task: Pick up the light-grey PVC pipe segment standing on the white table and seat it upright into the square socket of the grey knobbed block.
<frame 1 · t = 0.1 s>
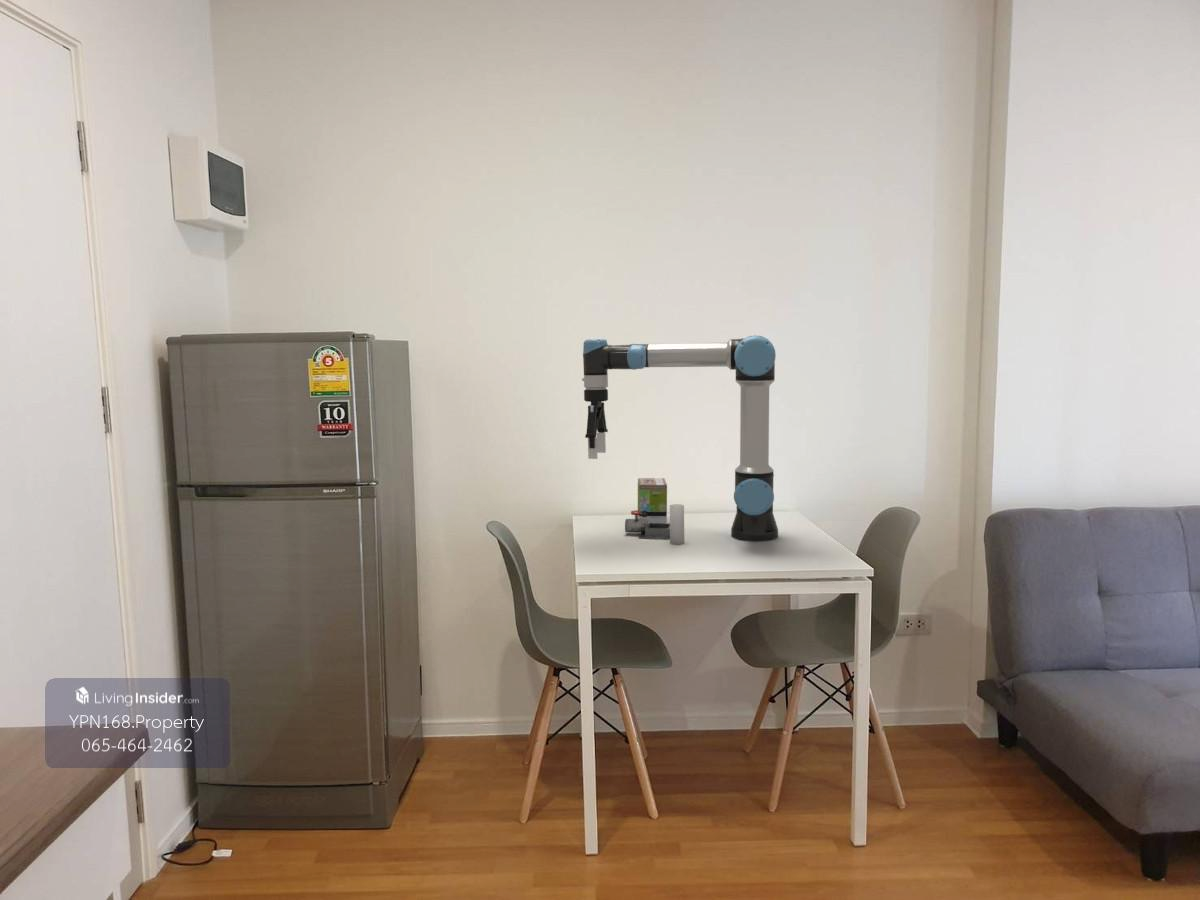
hand: (597, 455, 271), 28 cm above the table, fingers open, 13 cm apart
grey knobbed block: (659, 534, 282), on the table
tea box: (652, 522, 303), on the table
pipe: (677, 542, 271), on the table
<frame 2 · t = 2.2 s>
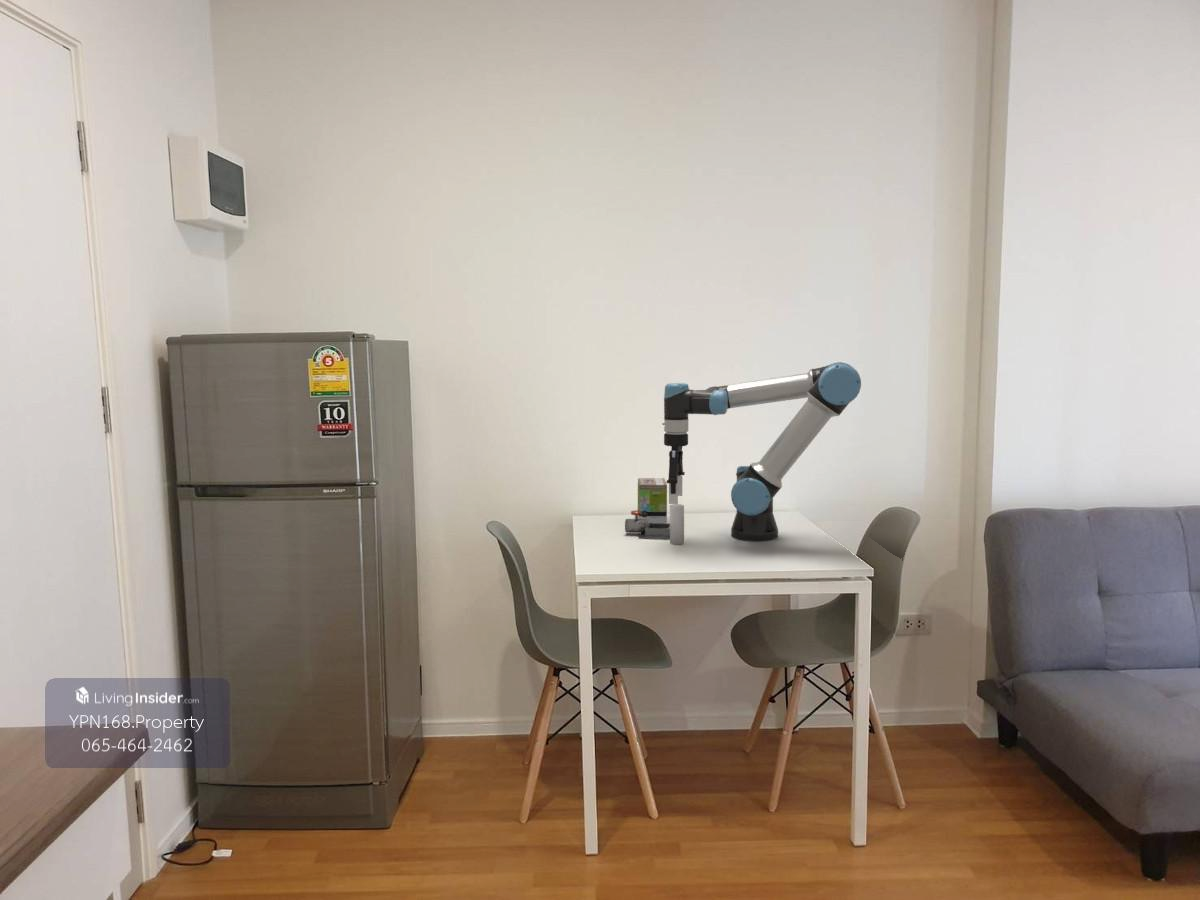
hand: (675, 499, 270), 14 cm above the table, fingers open, 13 cm apart
nothing on the table moved.
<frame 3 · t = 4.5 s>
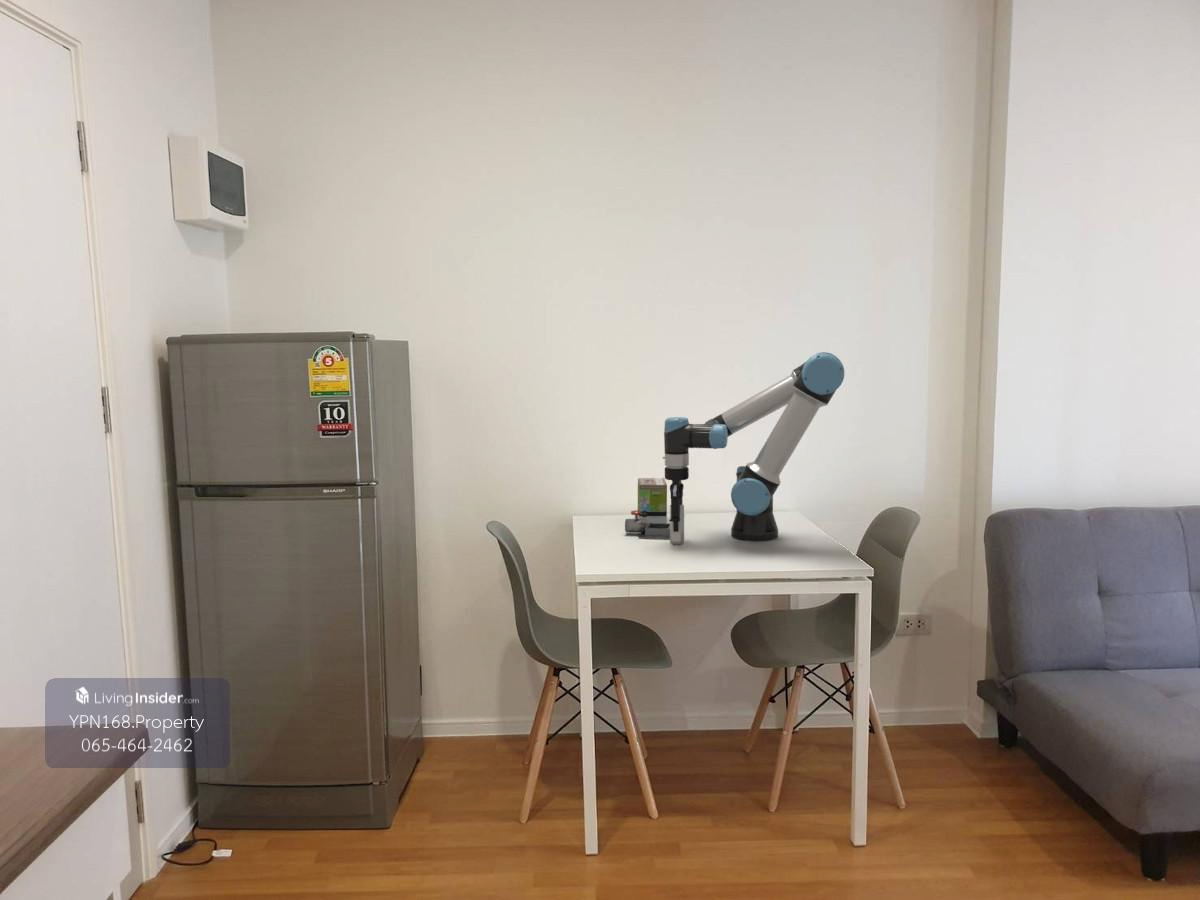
hand: (677, 539, 271), 1 cm above the table, fingers closed on pipe, 4 cm apart
pipe: (677, 542, 271), on the table, touching gripper
everything else where it was.
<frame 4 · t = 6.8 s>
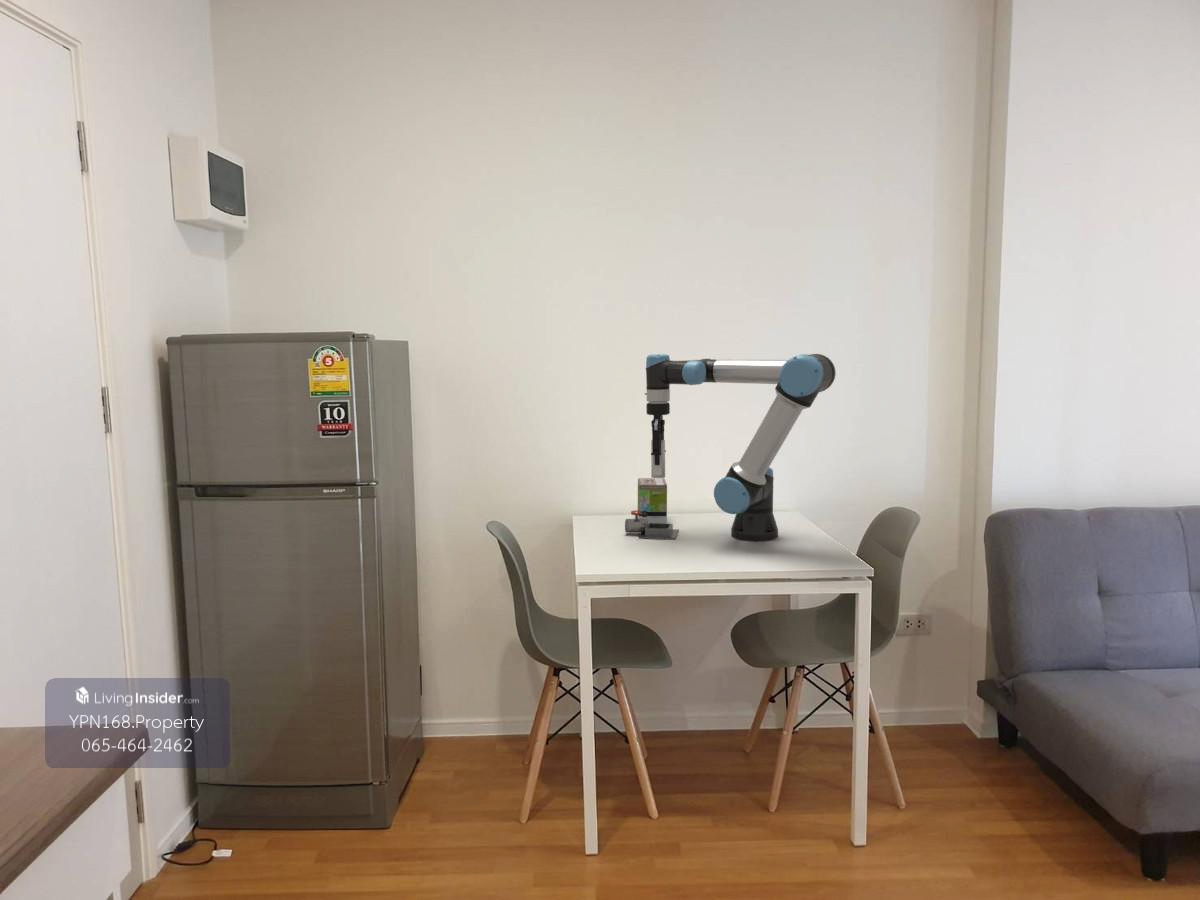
hand: (658, 473, 280), 21 cm above the table, fingers closed on pipe, 4 cm apart
pipe: (658, 476, 280), point 19 cm above the table, touching gripper
everything else where it was.
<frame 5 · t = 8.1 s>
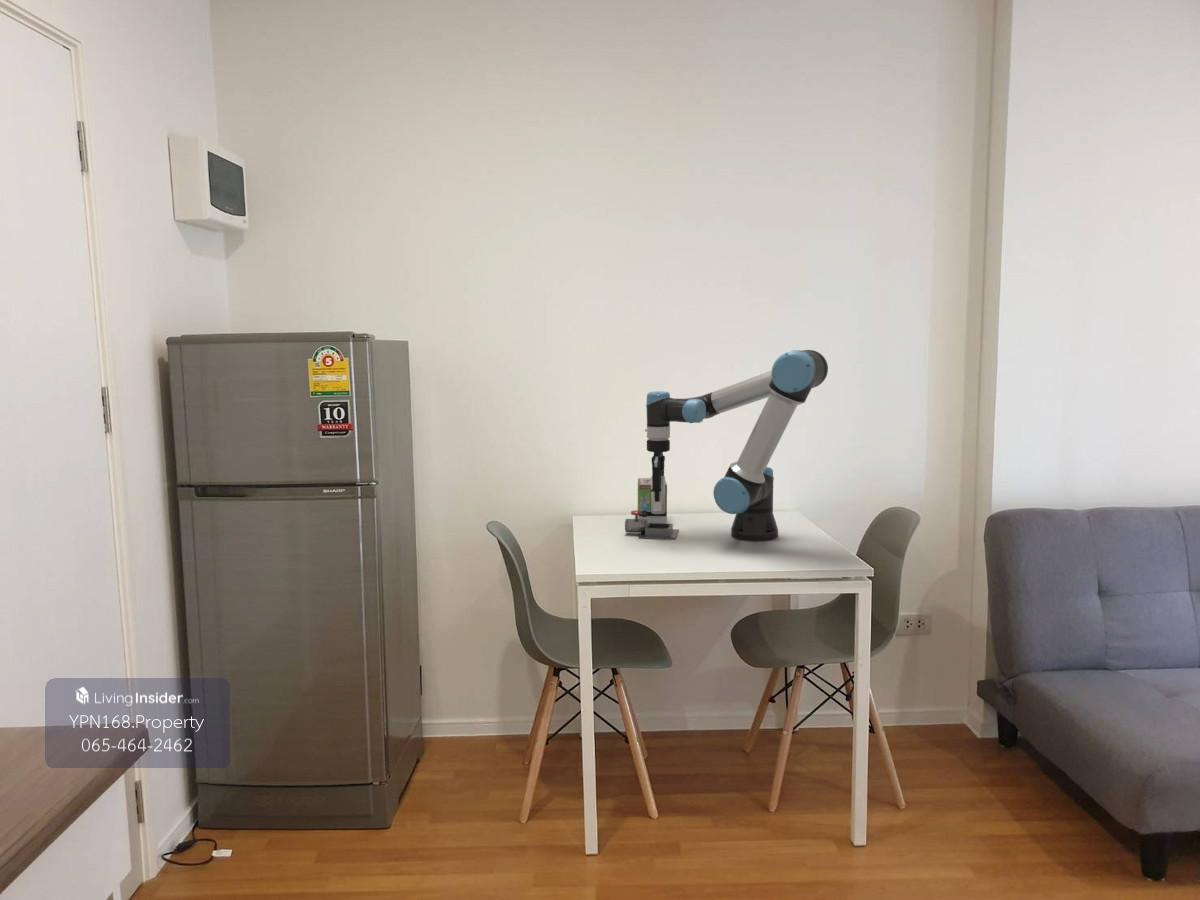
hand: (658, 509, 281), 9 cm above the table, fingers closed on pipe, 4 cm apart
pipe: (658, 512, 282), point 7 cm above the table, touching gripper
everything else where it was.
when the fingers open (5 cm above the table, at t = 9.2 s): pipe drops 3 cm, resting on grey knobbed block.
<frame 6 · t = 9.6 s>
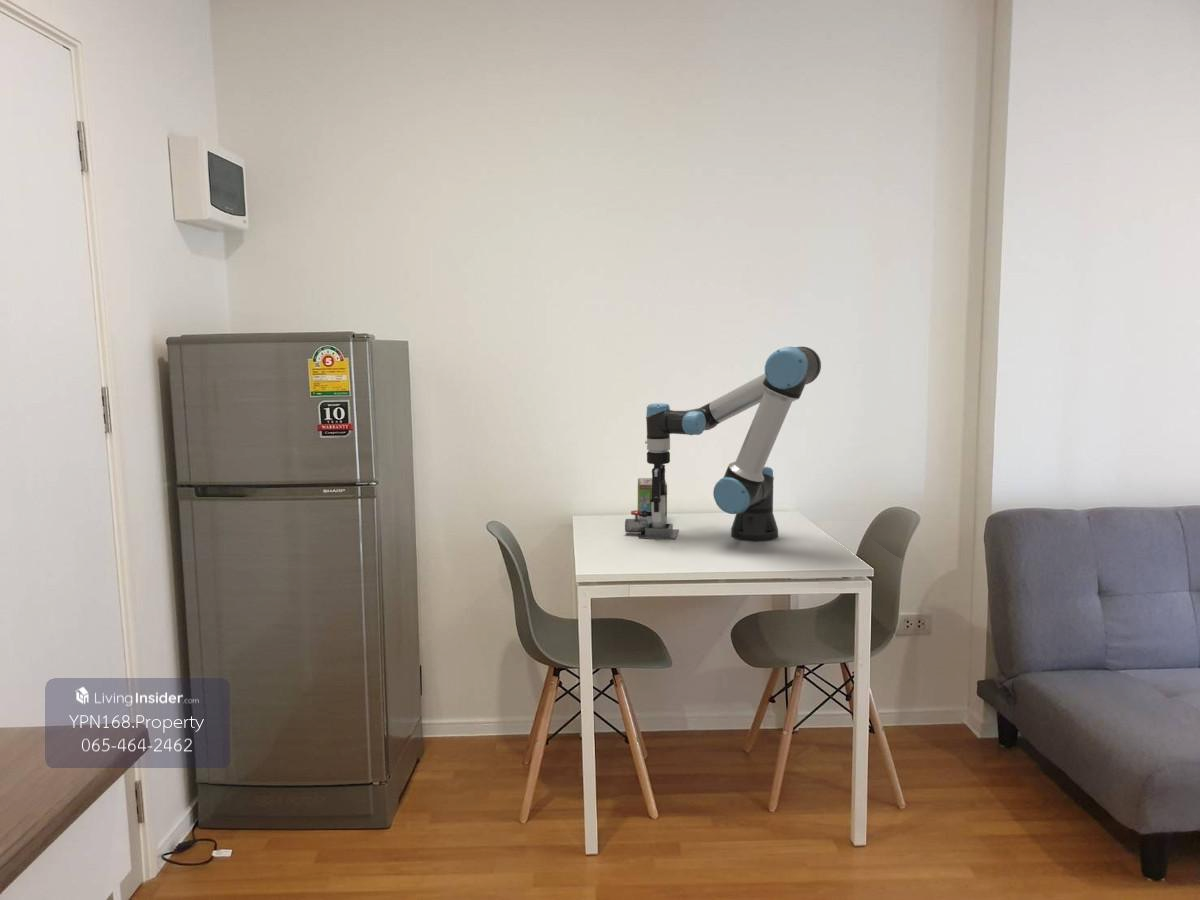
hand: (659, 518, 282), 6 cm above the table, fingers open, 10 cm apart
pipe: (658, 533, 282), point 1 cm above the table, touching grey knobbed block
everything else where it was.
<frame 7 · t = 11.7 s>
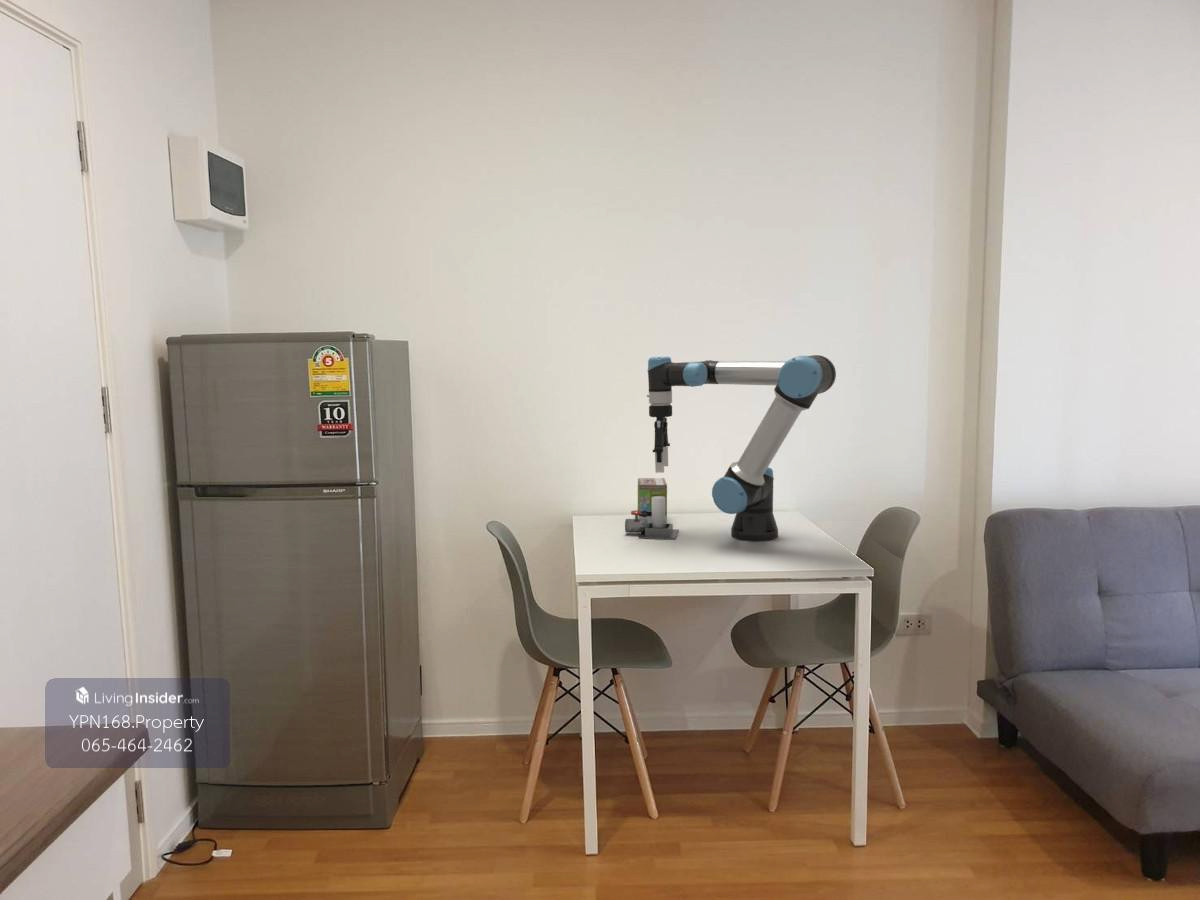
hand: (662, 469, 280), 22 cm above the table, fingers open, 13 cm apart
nothing on the table moved.
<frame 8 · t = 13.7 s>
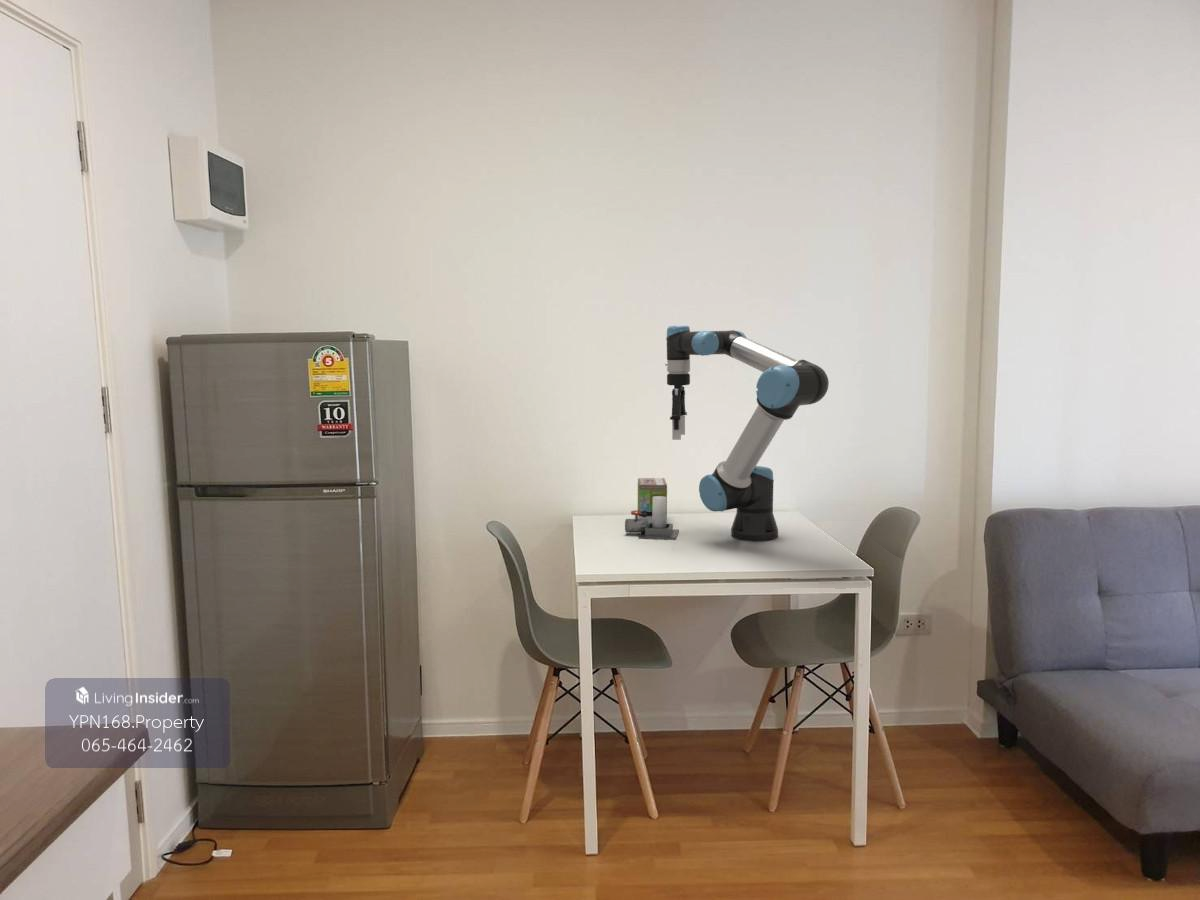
hand: (678, 437, 284), 32 cm above the table, fingers open, 13 cm apart
nothing on the table moved.
at the end: pipe 0.2 cm off-centre on the grey knobbed block, point 0.7 cm above the grey knobbed block's base; pipe tilted 2° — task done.
